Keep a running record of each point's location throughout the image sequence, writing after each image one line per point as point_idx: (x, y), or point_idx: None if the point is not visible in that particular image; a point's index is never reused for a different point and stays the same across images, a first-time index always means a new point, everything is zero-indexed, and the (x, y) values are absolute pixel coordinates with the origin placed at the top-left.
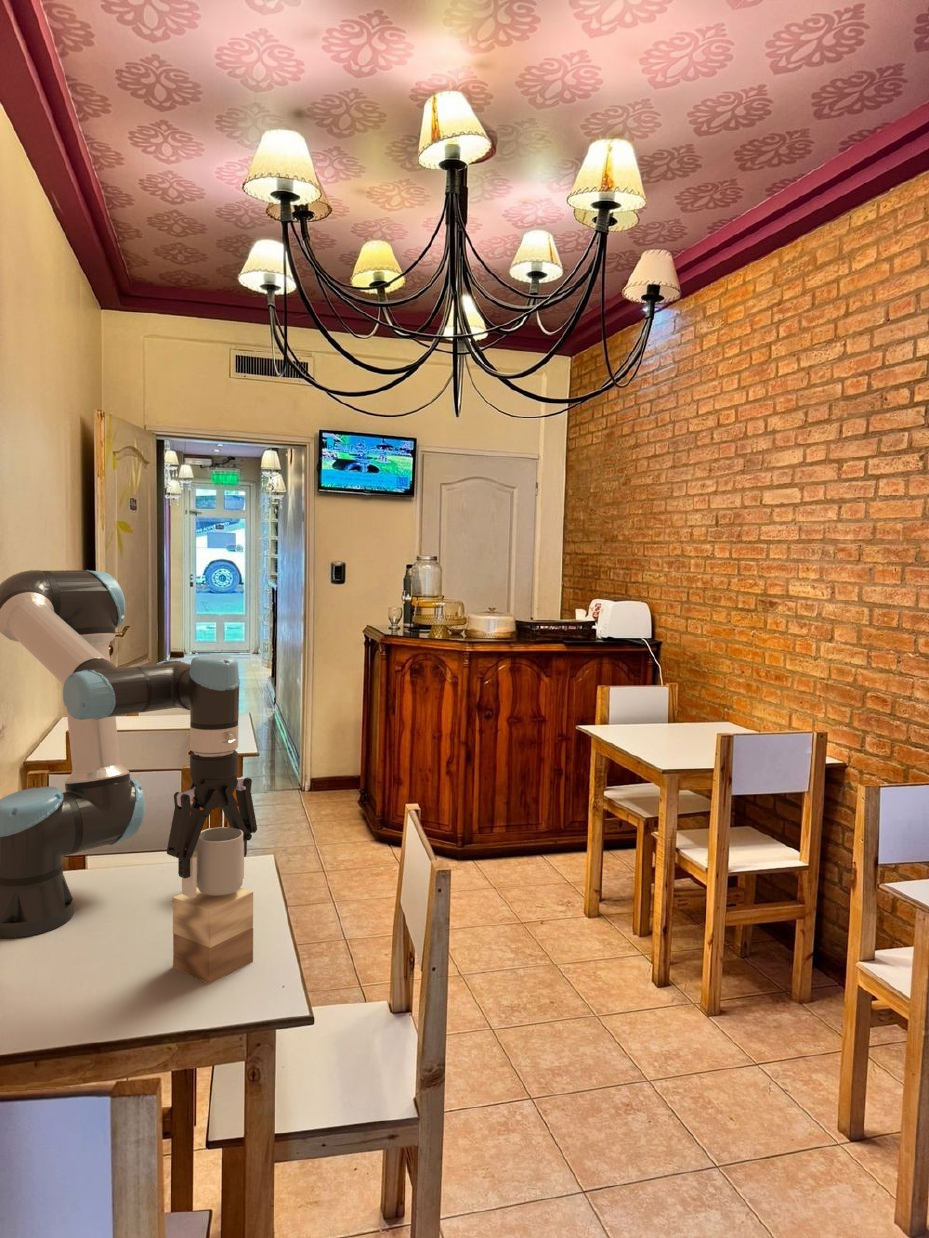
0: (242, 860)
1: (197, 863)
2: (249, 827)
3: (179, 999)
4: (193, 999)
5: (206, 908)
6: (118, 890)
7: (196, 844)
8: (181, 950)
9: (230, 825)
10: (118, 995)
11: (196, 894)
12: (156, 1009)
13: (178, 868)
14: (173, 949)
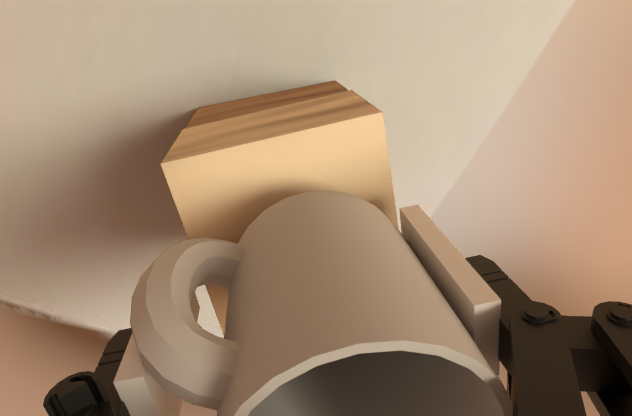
0: (407, 386)
1: (230, 307)
2: (597, 395)
3: (156, 247)
4: None
5: (223, 318)
6: None
7: (210, 404)
8: None
9: (515, 386)
10: (39, 150)
11: (198, 312)
12: (102, 253)
13: (98, 363)
14: (192, 117)
